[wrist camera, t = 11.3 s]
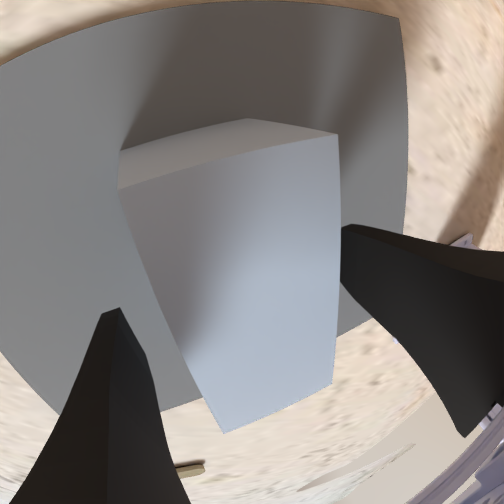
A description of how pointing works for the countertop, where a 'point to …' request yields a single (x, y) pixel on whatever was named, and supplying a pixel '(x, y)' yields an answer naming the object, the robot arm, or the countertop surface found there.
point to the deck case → (242, 257)
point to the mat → (163, 125)
